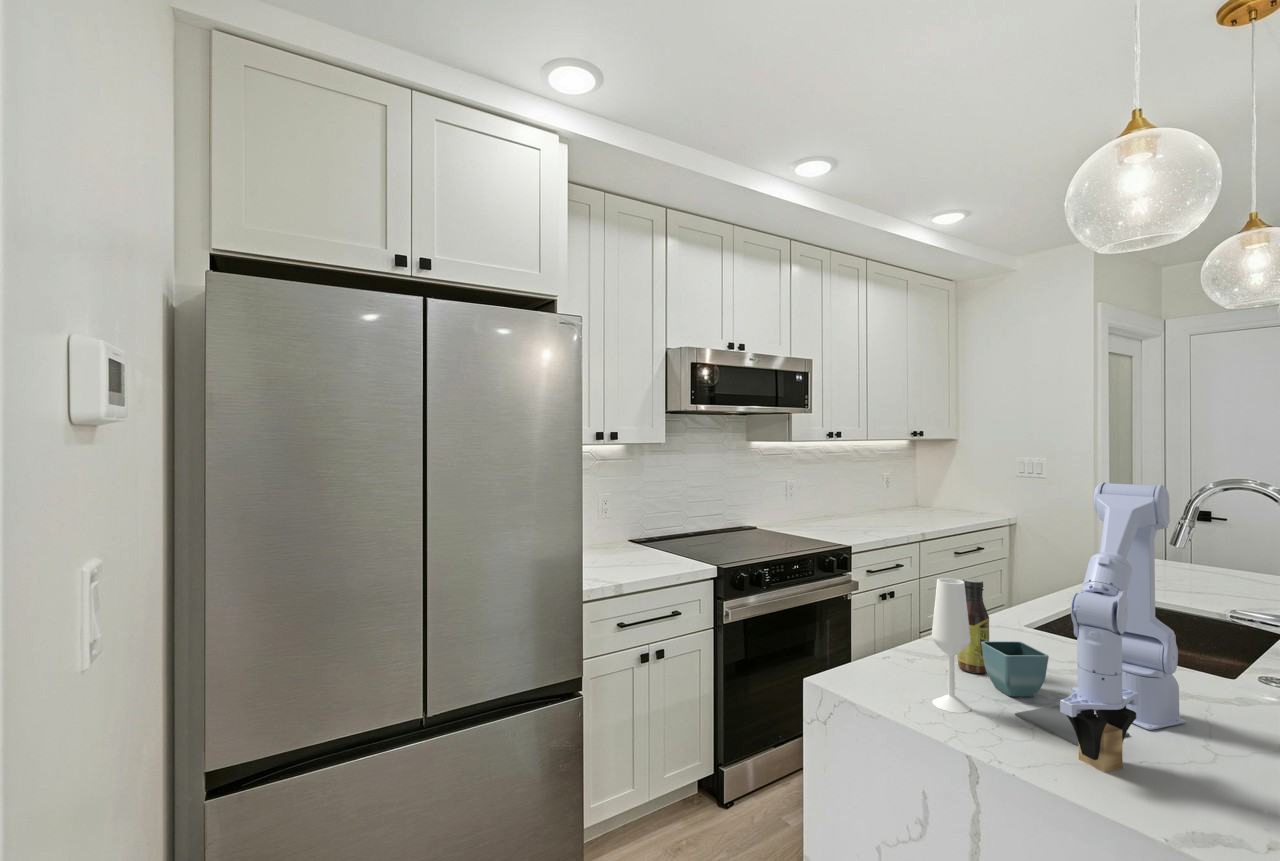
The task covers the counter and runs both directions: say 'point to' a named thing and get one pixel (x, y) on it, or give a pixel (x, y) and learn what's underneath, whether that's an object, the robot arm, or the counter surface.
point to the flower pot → (1014, 667)
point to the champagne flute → (951, 634)
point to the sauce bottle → (975, 628)
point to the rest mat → (1052, 722)
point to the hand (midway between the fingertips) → (1100, 754)
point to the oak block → (1107, 750)
